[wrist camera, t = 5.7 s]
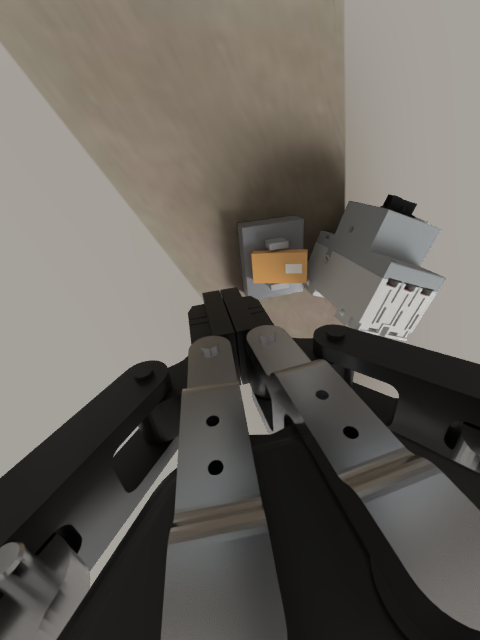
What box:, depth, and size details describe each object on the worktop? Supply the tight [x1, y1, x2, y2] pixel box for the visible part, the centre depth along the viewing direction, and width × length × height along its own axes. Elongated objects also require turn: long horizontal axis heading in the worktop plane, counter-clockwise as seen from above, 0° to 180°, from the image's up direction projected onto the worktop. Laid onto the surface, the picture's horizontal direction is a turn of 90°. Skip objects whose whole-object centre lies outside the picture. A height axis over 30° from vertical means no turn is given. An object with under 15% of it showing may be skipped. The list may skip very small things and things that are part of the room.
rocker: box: [251, 249, 308, 283], centre depth 36 cm, size 4×7×2 cm, turn 96°
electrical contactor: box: [303, 195, 446, 341], centre depth 35 cm, size 8×14×15 cm, turn 164°
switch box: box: [237, 215, 304, 299], centre depth 38 cm, size 10×8×5 cm
